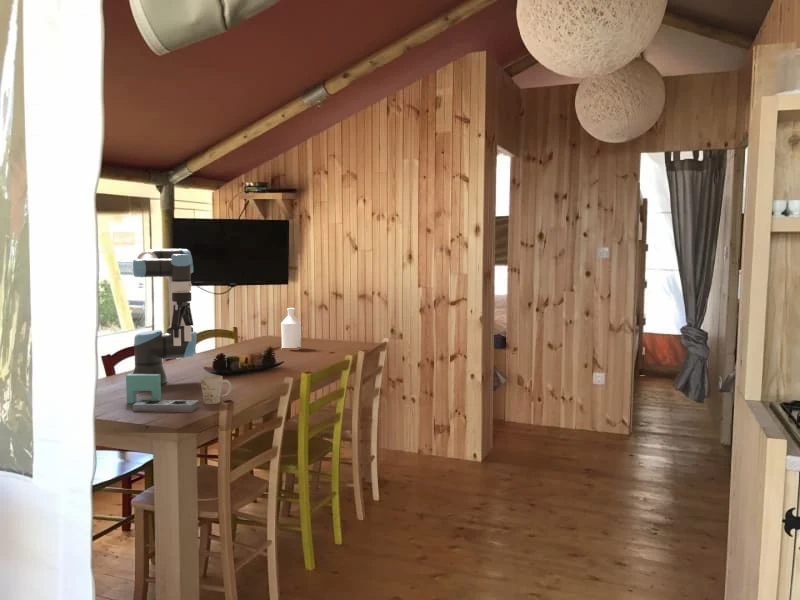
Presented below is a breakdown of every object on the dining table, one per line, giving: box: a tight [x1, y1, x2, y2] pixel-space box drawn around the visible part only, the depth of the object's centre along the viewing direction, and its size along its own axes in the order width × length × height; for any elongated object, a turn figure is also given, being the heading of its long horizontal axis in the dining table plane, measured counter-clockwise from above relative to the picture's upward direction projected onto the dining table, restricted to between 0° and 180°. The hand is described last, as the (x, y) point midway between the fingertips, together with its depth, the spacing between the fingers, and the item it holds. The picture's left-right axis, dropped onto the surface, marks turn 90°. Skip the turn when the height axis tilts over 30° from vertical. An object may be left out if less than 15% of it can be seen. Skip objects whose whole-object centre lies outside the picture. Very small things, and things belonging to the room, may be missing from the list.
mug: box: [200, 374, 232, 405], centre depth 257 cm, size 8×13×10 cm, turn 135°
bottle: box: [280, 307, 302, 349], centre depth 391 cm, size 12×12×25 cm
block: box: [132, 399, 200, 413], centre depth 244 cm, size 22×8×2 cm, turn 88°
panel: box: [125, 373, 162, 404], centre depth 255 cm, size 12×3×11 cm, turn 88°
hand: (182, 343), depth 267 cm, fingers open, 13 cm apart
